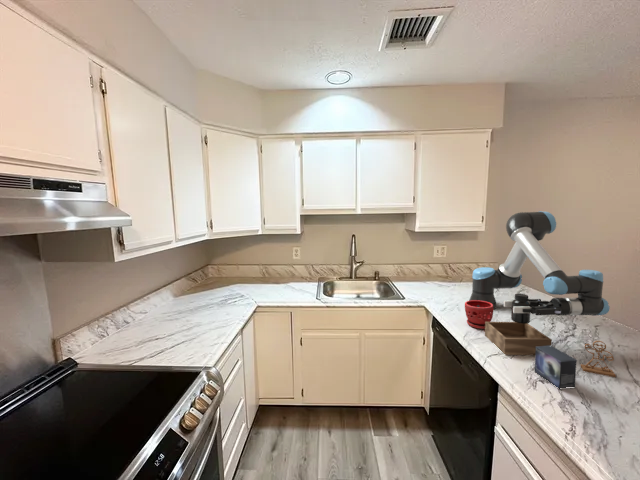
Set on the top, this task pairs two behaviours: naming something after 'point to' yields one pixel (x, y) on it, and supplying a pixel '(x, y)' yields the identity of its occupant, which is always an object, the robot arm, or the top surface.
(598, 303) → the robot arm
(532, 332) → the walnut box
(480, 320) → the plant pot
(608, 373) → the gingerbread man figurine
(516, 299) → the supplement bottle
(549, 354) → the small box
